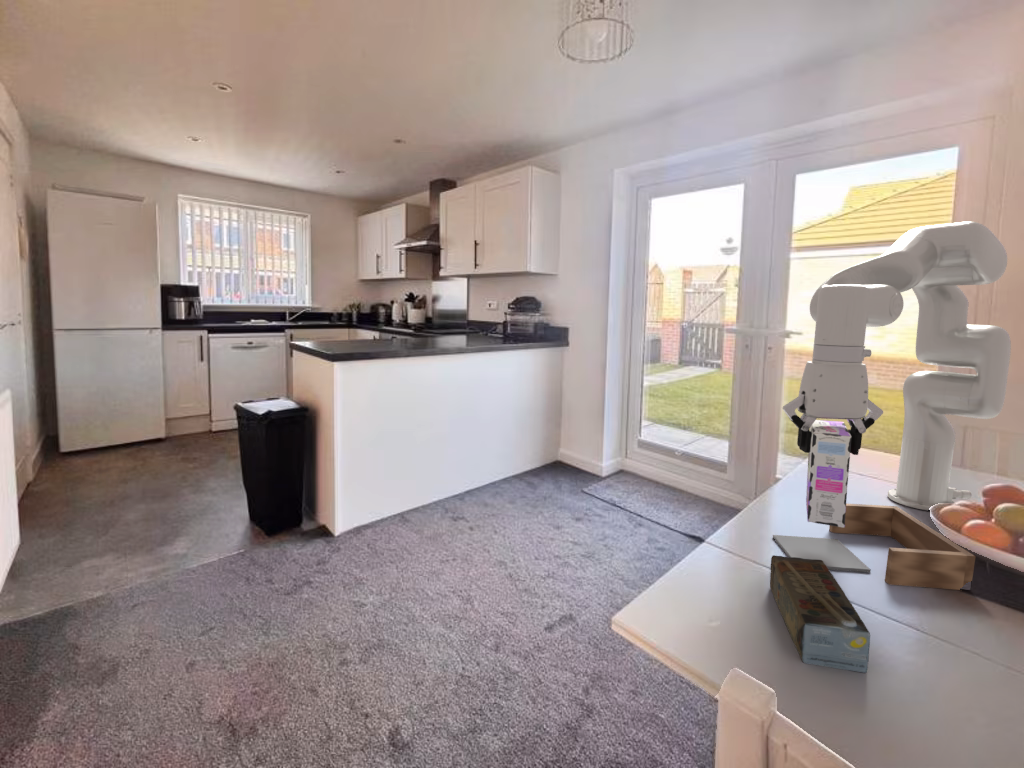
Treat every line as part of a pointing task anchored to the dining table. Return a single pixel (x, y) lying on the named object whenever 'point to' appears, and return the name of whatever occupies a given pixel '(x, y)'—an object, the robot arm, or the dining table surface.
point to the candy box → (828, 473)
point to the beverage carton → (819, 614)
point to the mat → (822, 552)
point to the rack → (911, 548)
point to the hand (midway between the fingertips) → (827, 451)
